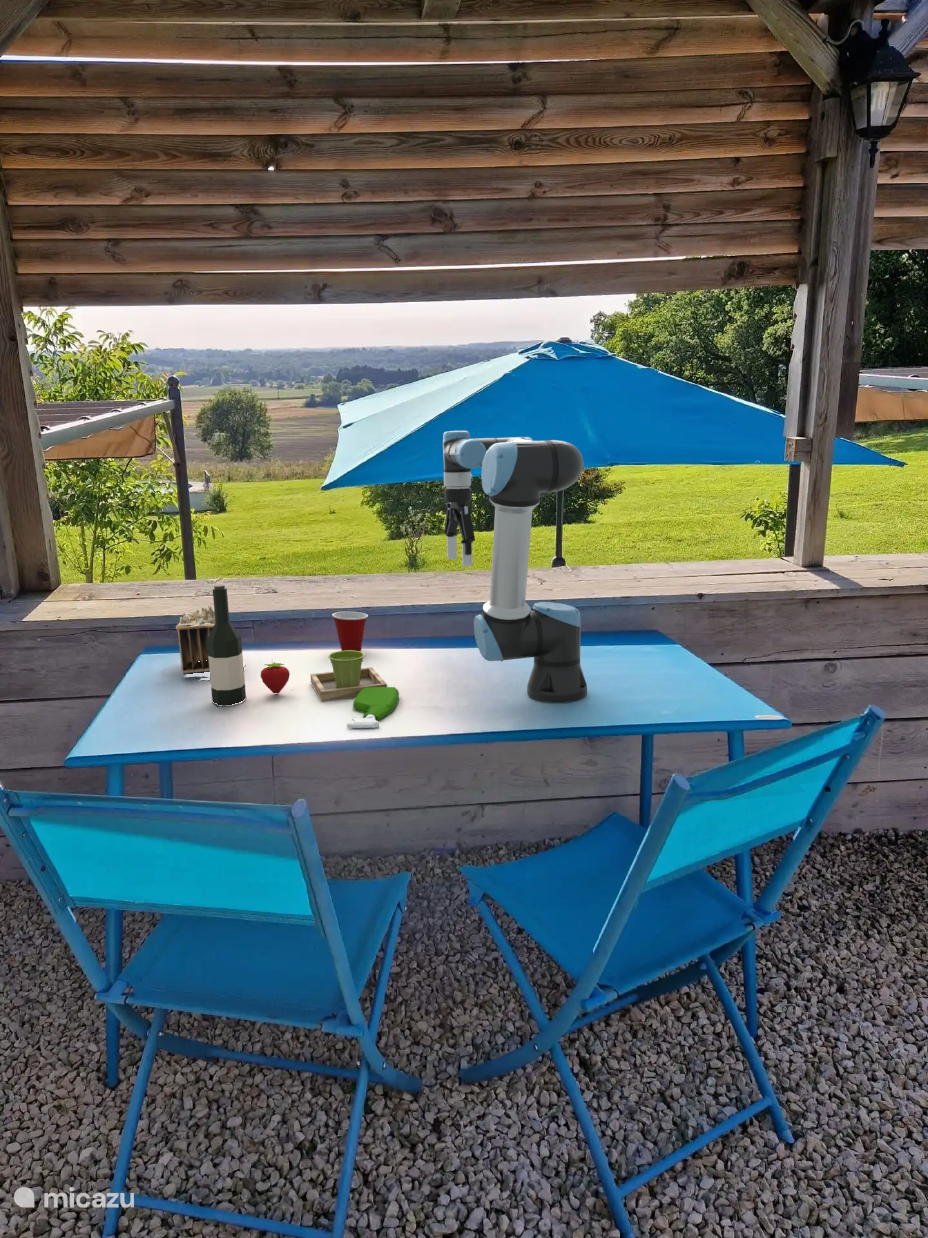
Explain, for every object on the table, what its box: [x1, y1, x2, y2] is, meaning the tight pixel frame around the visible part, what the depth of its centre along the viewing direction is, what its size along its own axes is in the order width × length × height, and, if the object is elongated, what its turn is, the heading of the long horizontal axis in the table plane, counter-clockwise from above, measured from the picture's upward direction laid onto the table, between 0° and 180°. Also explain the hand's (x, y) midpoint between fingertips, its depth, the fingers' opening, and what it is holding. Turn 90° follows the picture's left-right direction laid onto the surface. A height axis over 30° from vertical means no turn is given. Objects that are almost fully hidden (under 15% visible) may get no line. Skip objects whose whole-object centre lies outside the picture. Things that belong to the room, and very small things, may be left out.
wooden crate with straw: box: [175, 605, 215, 675], centre depth 254 cm, size 25×25×19 cm
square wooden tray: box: [310, 666, 388, 702], centre depth 235 cm, size 17×17×2 cm
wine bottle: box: [207, 584, 247, 705], centre depth 223 cm, size 8×8×30 cm
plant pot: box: [328, 650, 365, 688], centre depth 234 cm, size 9×9×9 cm
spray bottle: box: [346, 686, 400, 729], centre depth 216 cm, size 3×11×24 cm
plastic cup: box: [331, 611, 369, 652], centre depth 269 cm, size 11×11×12 cm
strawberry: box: [260, 661, 291, 694], centre depth 230 cm, size 6×8×10 cm
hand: (459, 562), depth 253 cm, fingers open, 13 cm apart
